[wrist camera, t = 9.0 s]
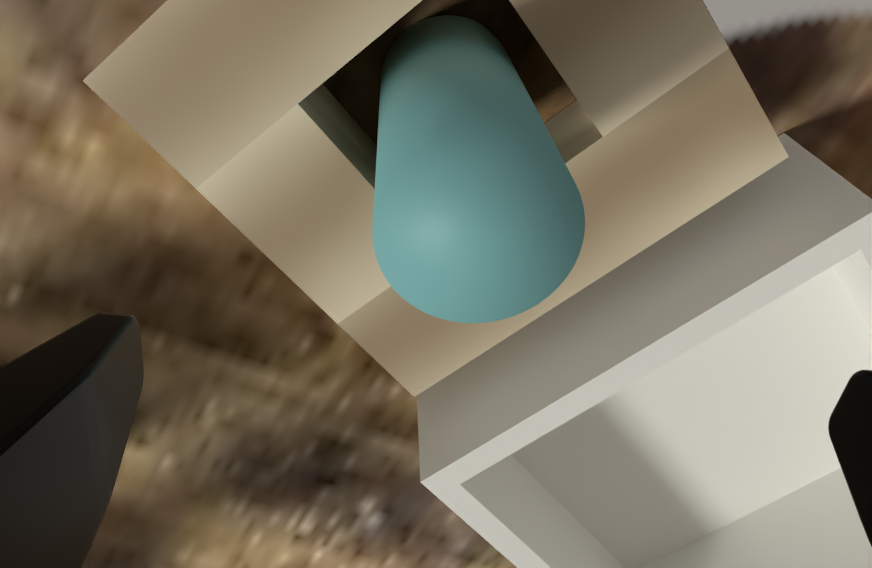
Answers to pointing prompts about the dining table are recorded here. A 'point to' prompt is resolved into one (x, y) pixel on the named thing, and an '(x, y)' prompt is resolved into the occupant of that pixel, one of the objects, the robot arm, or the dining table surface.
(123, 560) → the dining table surface
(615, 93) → the bore plate
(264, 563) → the dining table surface
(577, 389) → the open box
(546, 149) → the peg
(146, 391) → the dining table surface
